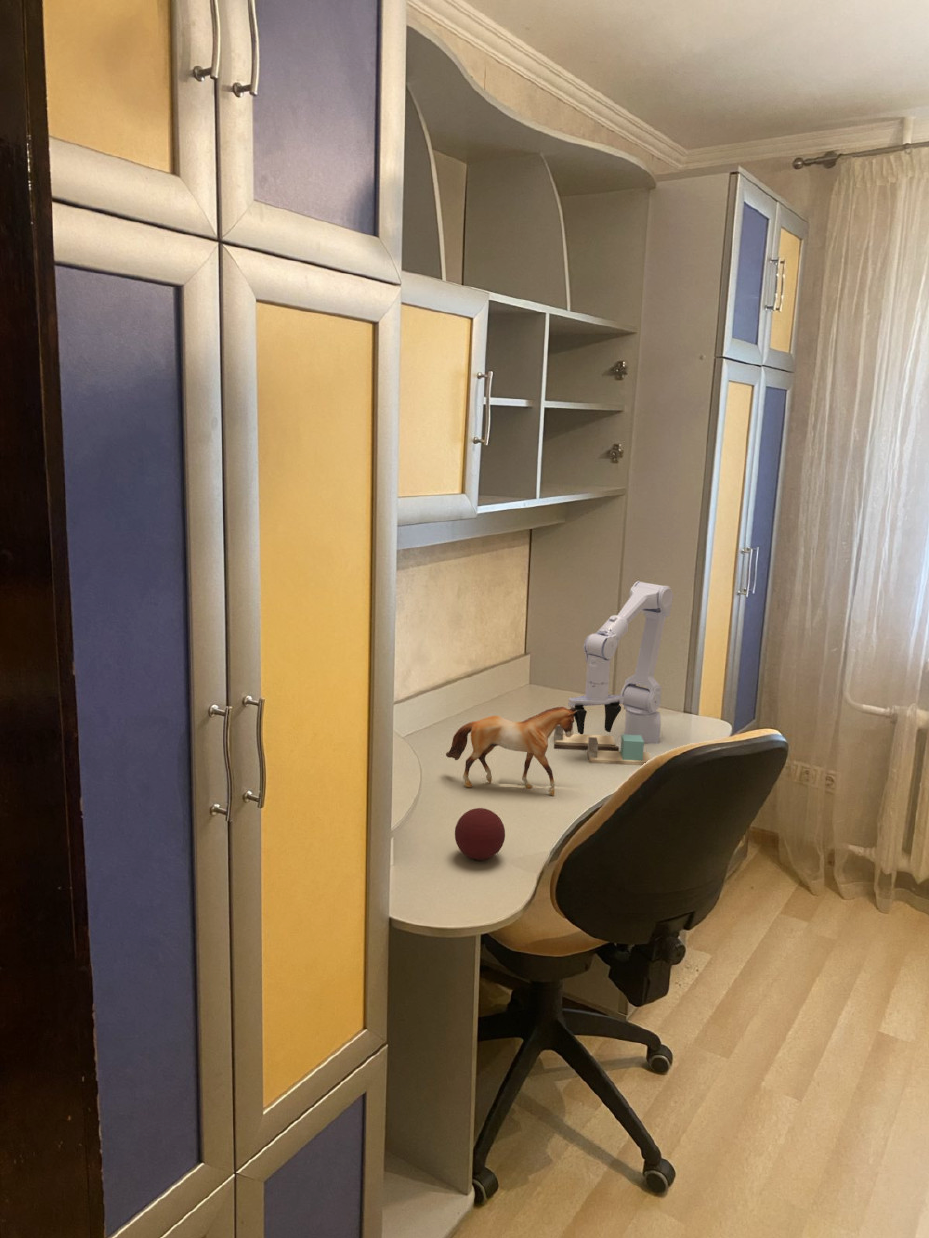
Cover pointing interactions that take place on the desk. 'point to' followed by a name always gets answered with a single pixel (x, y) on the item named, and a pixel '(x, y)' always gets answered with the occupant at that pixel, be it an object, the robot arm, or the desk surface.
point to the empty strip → (581, 738)
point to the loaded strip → (610, 755)
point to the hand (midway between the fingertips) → (594, 731)
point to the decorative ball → (479, 833)
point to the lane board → (584, 747)
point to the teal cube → (632, 747)
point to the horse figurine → (512, 739)
